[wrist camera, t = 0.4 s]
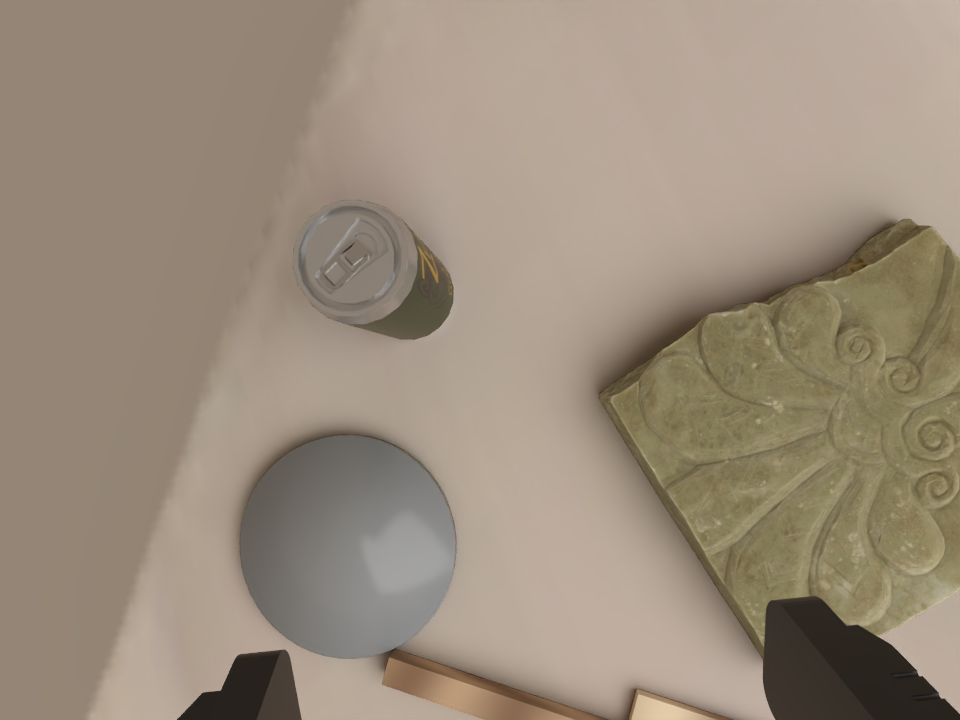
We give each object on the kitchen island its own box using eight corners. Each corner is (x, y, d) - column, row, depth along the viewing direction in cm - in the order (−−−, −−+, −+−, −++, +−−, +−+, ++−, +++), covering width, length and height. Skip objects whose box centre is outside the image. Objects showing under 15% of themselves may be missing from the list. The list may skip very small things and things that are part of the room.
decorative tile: (1092, 481, 35) (1153, 492, 31) (767, 667, 36) (791, 698, 33) (889, 197, 36) (925, 178, 33) (586, 387, 38) (590, 388, 34)
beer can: (409, 359, 38) (346, 349, 27) (350, 295, 39) (261, 258, 27) (474, 296, 38) (439, 258, 26) (413, 233, 39) (351, 167, 27)
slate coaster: (301, 398, 39) (296, 398, 38) (493, 494, 38) (491, 496, 37) (211, 589, 39) (204, 594, 39) (398, 692, 38) (395, 699, 37)
